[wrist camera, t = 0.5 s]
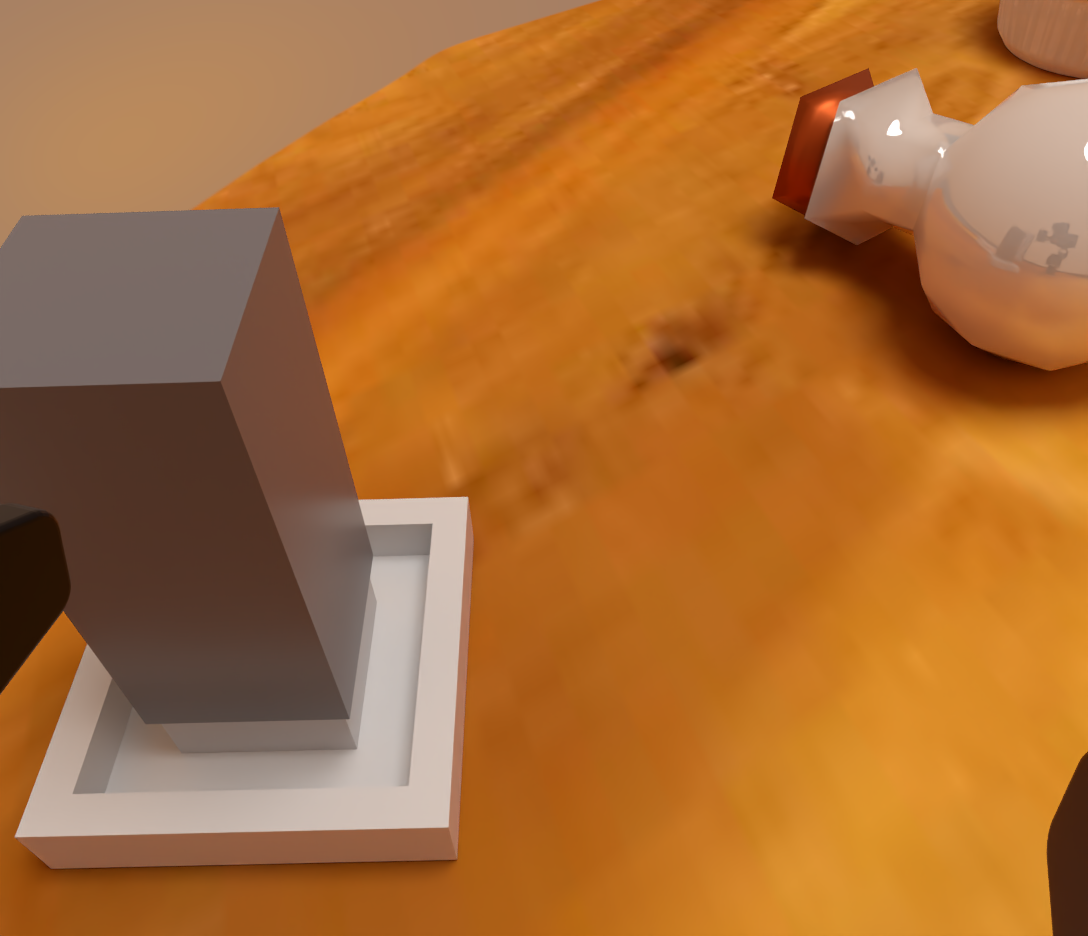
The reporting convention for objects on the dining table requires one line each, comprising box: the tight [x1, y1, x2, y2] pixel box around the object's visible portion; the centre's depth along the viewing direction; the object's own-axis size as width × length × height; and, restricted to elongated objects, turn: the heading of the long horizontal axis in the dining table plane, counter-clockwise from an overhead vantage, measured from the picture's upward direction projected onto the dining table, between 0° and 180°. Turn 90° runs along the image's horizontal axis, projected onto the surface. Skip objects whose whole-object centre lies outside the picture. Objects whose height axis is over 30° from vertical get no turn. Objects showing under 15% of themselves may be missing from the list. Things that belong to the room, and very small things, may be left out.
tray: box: [15, 497, 474, 869], centre depth 25 cm, size 10×10×2 cm
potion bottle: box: [772, 68, 1088, 371], centre depth 34 cm, size 10×10×15 cm
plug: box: [0, 208, 377, 753], centre depth 21 cm, size 5×5×13 cm
